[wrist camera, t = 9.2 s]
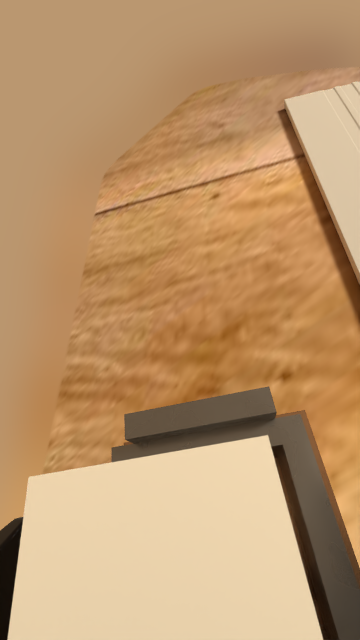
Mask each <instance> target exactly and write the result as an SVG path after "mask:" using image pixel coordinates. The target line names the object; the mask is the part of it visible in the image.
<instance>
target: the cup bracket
mask: <svg viewBox="0 0 360 640" xmlns="http://www.w3.org/2000/svg"><path fill="white" fill-rule="evenodd" d="M124 417H125V440H127V441H129V442H126V443H124V446H118V447H113V448H112V462H117V461H123V460H129V459H135V458H140V457H146V456H152V455H157V454H163V453H169V452H174V451H180V450H186V449H192V448H197V447H203V446H209V445H214V444H220V443H226V442H232V441H237V440H243V439H249V438H254V437H260V436H266V435H268V437H269V441H270V445H271V448H272V452H273V456H274V459H275V463H276V467H277V471H278V474H279V478H280V482H281V485H282V489H283V493H284V496H285V500H286V504H287V508H288V511H289V515H290V519H291V522H292V526H293V530H294V533H295V537H296V541H297V545H298V548H299V552H300V556H301V559H302V563H303V567H304V570H305V574H306V578H307V582H308V585H309V589H310V593H311V596H312V600H313V604H314V607H315V611H316V615H317V619H318V622H319V626H320V630H321V633H322V637H323V640H360V568H359V565H358V562H357V560H356V557H355V554H354V551H353V548H352V545H351V542H350V539H349V536H348V534H347V531H346V528H345V525H344V522H343V519H342V516H341V513H340V511H339V508H338V505H337V502H336V499H335V496H334V493H333V490H332V487H331V485H330V482H329V479H328V476H327V473H326V470H325V467H324V464H323V461H322V459H321V456H320V453H319V450H318V447H317V444H316V441H315V438H314V436H313V433H312V430H311V427H310V424H309V421H308V418H307V415H306V412H305V410H303V411H297V412H292V413H286V414H281V415H276V409H275V406H274V402H273V399H272V395H271V392H270V389H269V387H264V388H259V389H254V390H249V391H244V392H238V393H233V394H228V395H223V396H218V397H212V398H207V399H202V400H197V401H192V402H186V403H181V404H176V405H171V406H166V407H161V408H155V409H150V410H145V411H140V412H135V413H129V414H124Z"/></svg>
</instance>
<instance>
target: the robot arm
mask: <svg viewBox="0 0 360 640" xmlns="http://www.w3.org/2000/svg"><path fill="white" fill-rule="evenodd" d="M22 525H23V517H20V518H17V519H14V520H13V521H11V522H10V523H9V524H8V525H7V526H5V527H4V528H3V529H2V530H1V531H0V640H7V639H8V632H9V624H10V616H11V609H12V601H13V594H14V586H15V578H16V571H17V563H18V555H19V548H20V540H21V532H22Z"/></svg>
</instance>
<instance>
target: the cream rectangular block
mask: <svg viewBox="0 0 360 640" xmlns="http://www.w3.org/2000/svg"><path fill="white" fill-rule="evenodd" d="M7 640H323V637H322V633H321V630H320V626H319V622H318V619H317V615H316V611H315V607H314V604H313V600H312V596H311V593H310V589H309V585H308V582H307V578H306V574H305V570H304V567H303V563H302V559H301V556H300V552H299V548H298V545H297V541H296V537H295V533H294V530H293V526H292V522H291V519H290V515H289V511H288V508H287V504H286V500H285V496H284V493H283V489H282V485H281V482H280V478H279V474H278V471H277V467H276V463H275V459H274V456H273V452H272V448H271V445H270V441H269V437H268V435H266V436H260V437H254V438H249V439H243V440H237V441H232V442H226V443H220V444H214V445H209V446H203V447H197V448H192V449H186V450H180V451H174V452H169V453H163V454H157V455H152V456H146V457H140V458H135V459H129V460H123V461H117V462H112V463H106V464H100V465H95V466H89V467H83V468H77V469H72V470H66V471H60V472H55V473H49V474H43V475H37V476H32V477H29V480H28V487H27V494H26V502H25V509H24V517H23V525H22V532H21V540H20V548H19V555H18V563H17V571H16V578H15V586H14V594H13V601H12V609H11V616H10V624H9V632H8V639H7Z"/></svg>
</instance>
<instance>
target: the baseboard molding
mask: <svg viewBox="0 0 360 640" xmlns="http://www.w3.org/2000/svg"><path fill="white" fill-rule="evenodd" d="M284 107H285V109H286V112H287V114H288V116H289V119H290V121H291V124H292V126H293V128H294V131H295V133H296V135H297V138H298V140H299V143H300V145H301V147H302V150H303V152H304V154H305V157H306V159H307V162H308V164H309V166H310V169H311V171H312V173H313V176H314V178H315V180H316V183H317V185H318V188H319V190H320V192H321V195H322V197H323V199H324V202H325V204H326V207H327V209H328V211H329V214H330V216H331V218H332V221H333V223H334V226H335V228H336V230H337V233H338V235H339V237H340V240H341V242H342V244H343V247H344V249H345V252H346V254H347V256H348V259H349V261H350V263H351V266H352V268H353V271H354V273H355V275H356V278H357V280H358V282H359V285H360V82H357V81H356V82H352V83H351V84H348V85H344V86H337V87H334V88H332V89H328V90H324V91H323V90H321V91H317V92H313V93H309V94H305V95H301V96H297V97H293V98H289V99H285V100H284Z"/></svg>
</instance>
